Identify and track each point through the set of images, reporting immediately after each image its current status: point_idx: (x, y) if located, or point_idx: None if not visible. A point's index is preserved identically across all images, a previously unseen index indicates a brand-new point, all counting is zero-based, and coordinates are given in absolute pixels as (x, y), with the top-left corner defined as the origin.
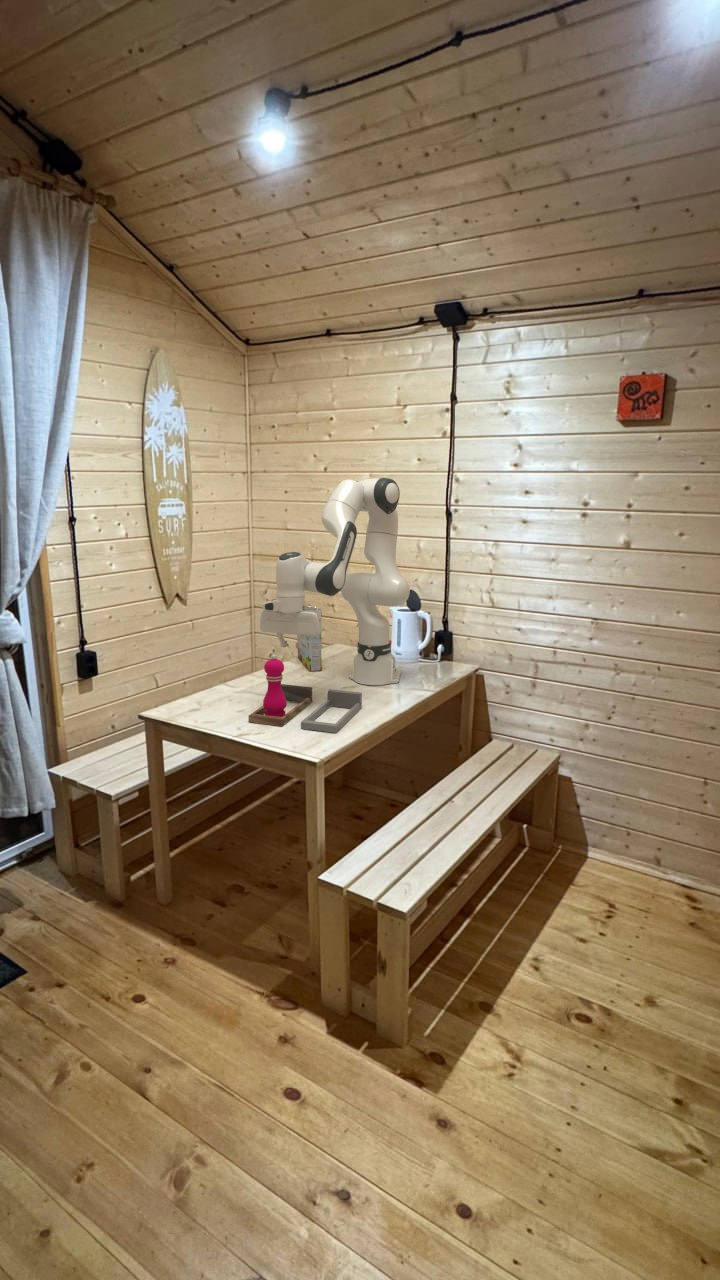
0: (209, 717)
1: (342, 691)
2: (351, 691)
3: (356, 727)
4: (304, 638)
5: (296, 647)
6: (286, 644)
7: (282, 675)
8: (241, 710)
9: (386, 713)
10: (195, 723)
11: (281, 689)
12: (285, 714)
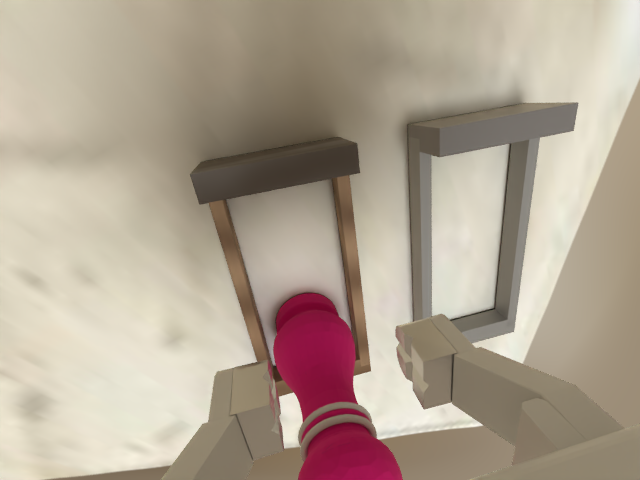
0: (139, 415)
1: (500, 130)
2: (535, 110)
3: (536, 262)
4: (546, 382)
5: (407, 367)
6: (269, 376)
7: (373, 427)
8: (170, 332)
9: (604, 113)
10: (148, 455)
11: (350, 378)
12: (358, 340)
